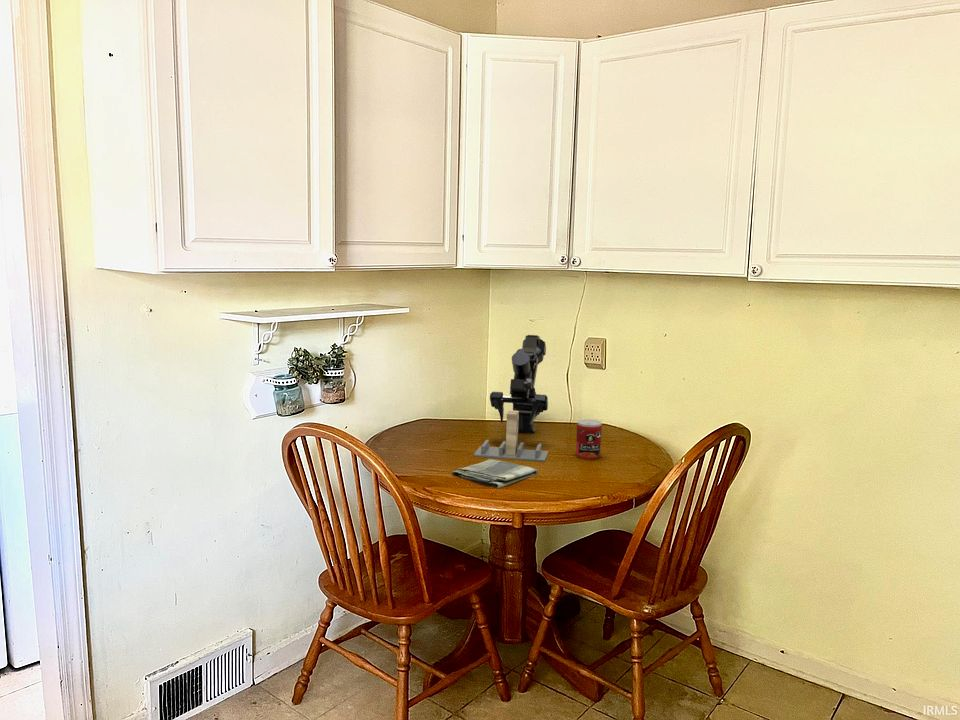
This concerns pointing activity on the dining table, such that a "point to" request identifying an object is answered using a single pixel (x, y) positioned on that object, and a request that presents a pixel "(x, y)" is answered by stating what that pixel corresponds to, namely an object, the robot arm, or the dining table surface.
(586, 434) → the canned food
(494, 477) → the dish towel
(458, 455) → the dining table surface
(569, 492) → the dining table surface
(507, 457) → the slotted rack
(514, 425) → the birch block
